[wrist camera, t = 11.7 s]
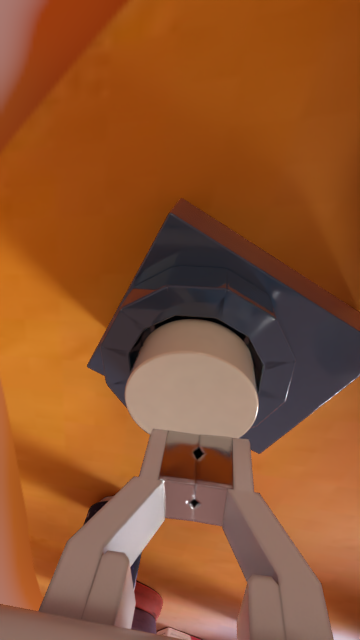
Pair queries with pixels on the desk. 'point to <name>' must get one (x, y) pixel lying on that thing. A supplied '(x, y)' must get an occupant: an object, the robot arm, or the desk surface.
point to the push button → (238, 318)
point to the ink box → (176, 634)
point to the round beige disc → (193, 381)
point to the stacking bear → (146, 609)
